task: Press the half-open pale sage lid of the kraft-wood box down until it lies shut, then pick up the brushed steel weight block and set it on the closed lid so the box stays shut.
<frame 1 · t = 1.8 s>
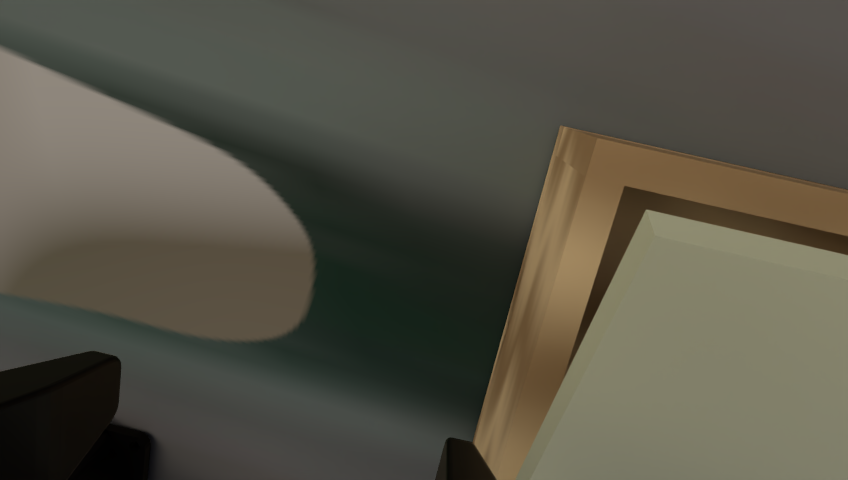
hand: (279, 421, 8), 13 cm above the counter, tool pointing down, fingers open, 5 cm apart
box: (688, 346, 21), on the counter
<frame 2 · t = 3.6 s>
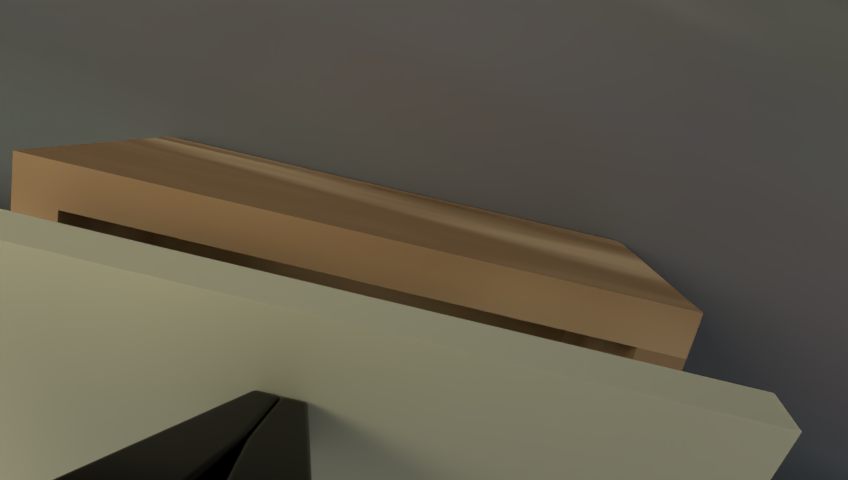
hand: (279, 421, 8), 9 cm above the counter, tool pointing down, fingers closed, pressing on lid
box: (350, 391, 18), on the counter
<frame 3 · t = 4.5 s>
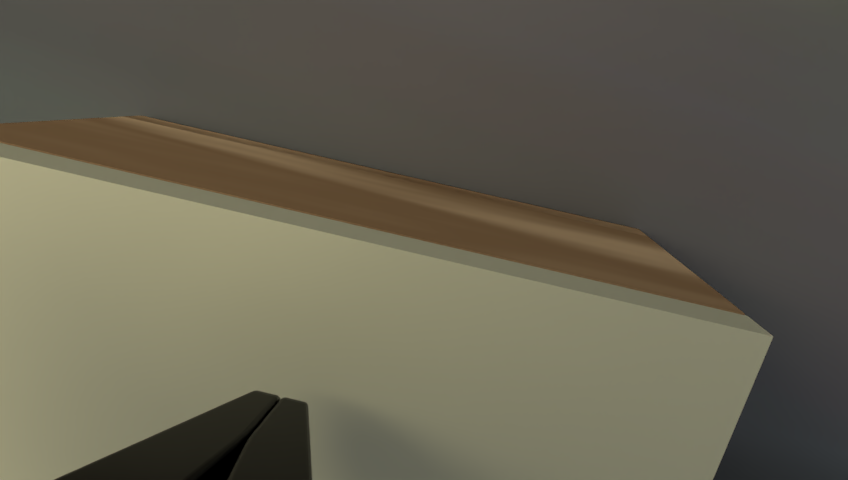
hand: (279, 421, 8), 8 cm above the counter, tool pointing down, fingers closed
box: (343, 393, 17), on the counter
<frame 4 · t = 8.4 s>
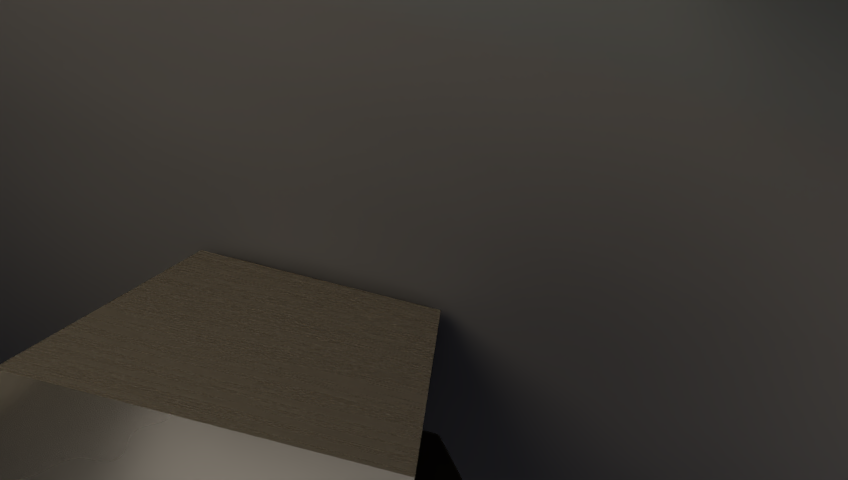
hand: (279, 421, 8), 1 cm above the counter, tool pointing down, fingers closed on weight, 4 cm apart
weight: (299, 387, 9), on the counter, touching gripper
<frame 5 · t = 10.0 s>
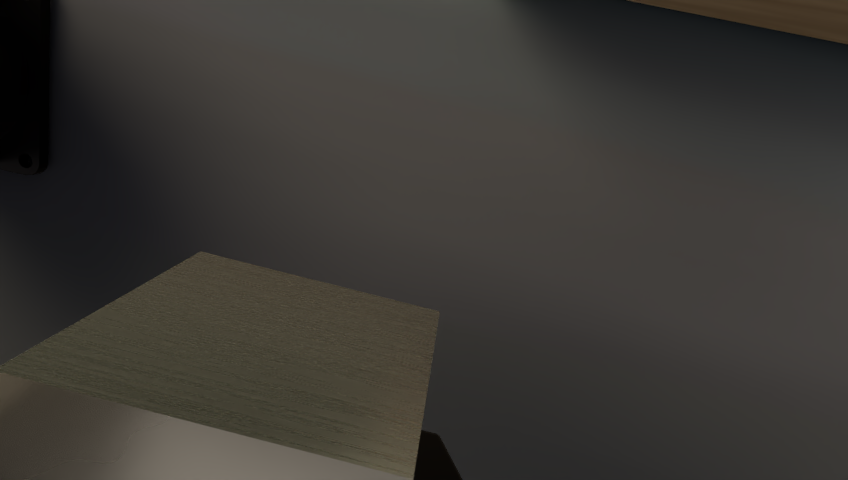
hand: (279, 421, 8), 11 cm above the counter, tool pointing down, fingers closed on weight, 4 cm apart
weight: (299, 388, 9), point 10 cm above the counter, touching gripper
when the fingers open (9 cm above the counter, at t = 11.7 s): weight drops 1 cm, resting on lid.
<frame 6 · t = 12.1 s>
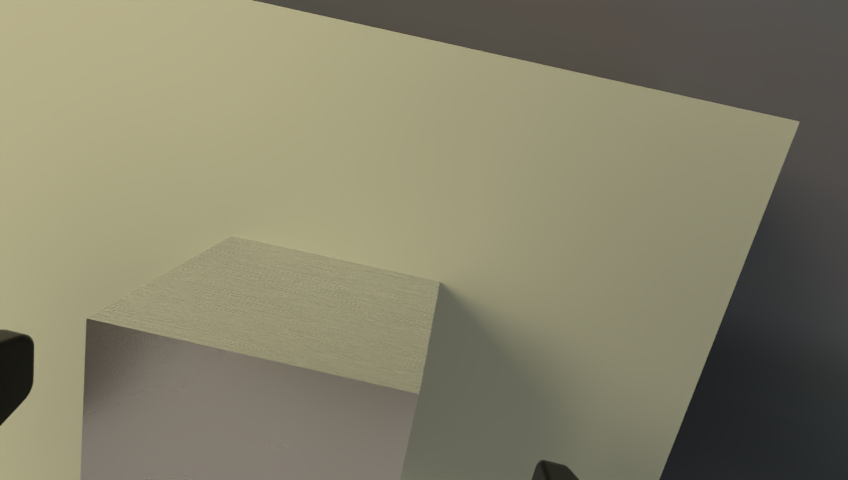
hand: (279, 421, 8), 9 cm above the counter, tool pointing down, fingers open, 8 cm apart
weight: (319, 354, 11), point 7 cm above the counter, touching lid
lid: (320, 383, 11), point 6 cm above the counter, hinge at -0.3°, touching weight
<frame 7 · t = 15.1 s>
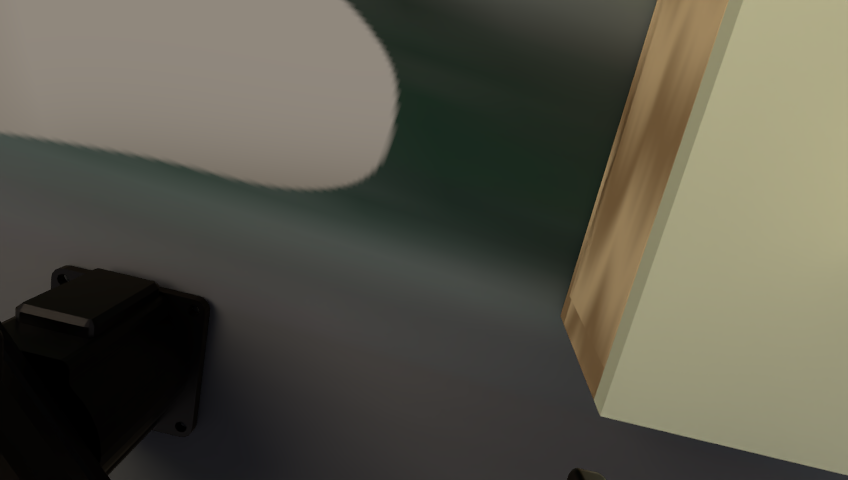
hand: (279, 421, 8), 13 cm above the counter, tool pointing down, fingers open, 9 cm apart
box: (812, 181, 19), on the counter
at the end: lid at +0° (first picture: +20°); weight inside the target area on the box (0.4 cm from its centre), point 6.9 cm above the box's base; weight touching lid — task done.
